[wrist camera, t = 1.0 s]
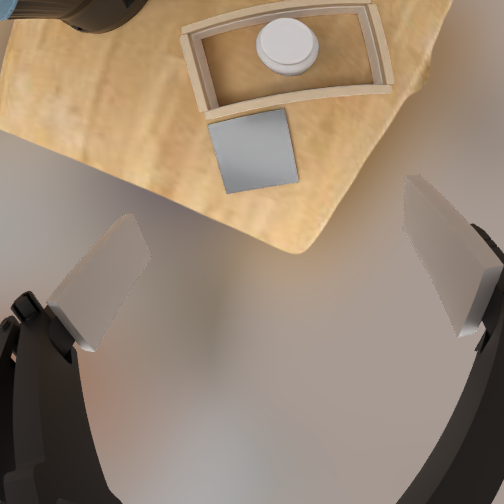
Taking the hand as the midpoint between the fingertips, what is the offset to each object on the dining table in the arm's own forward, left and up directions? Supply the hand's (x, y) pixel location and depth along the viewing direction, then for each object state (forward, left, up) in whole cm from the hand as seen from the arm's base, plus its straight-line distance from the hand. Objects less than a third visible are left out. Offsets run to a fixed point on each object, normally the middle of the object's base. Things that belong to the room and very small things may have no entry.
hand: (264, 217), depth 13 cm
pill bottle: (-10, +3, -25) cm, 27 cm away
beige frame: (-10, +3, -25) cm, 27 cm away
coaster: (+2, -4, -25) cm, 25 cm away
